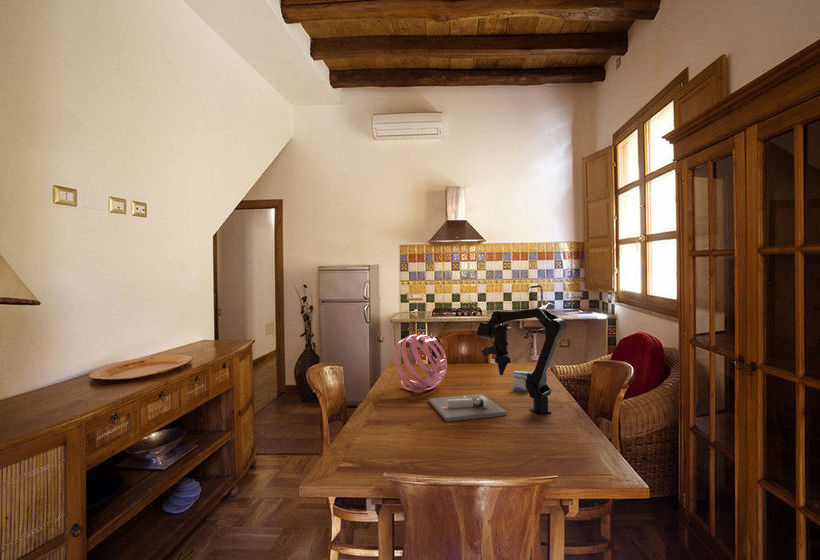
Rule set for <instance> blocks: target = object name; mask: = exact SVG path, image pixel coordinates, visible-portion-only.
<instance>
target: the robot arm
mask: <svg viewBox="0 0 820 560" xmlns="http://www.w3.org/2000/svg"><path fill="white" fill-rule="evenodd" d="M534 318H535V319H537V320H538V321H539V323H540V324H541V325H542V327H544V328H545V330H544V338H545V339H544V343H543V346H542V349H541V351H540V354H539V356H538V360H537V361H536V365H535V367H534V370H532V371H528V372H529V373H528V374H527V379H526V380H525V382H526V384H525V386H526V388H527V390H528V391H527V392H528V395H529V398H530V399H532V407H530V408H529V410H530V411H532V413H535V414H536V415H544V414H553V413H552V411H551V410H550V409H549V398H548V397H549V396H551V394H552V389H551V388H550V386H549V385H548V384H547V382H548V378H547V377H548V376H547V372H548V370H549V369H548V368H549V366H550V363H551V360H552V358H553V354H554V352H555V350H556V346H557V345H558V341H559V340H560V339H561V338H562V336H563V335H564V333H565V332H566V330H567V329H568V324H567V322H566V320H565V319H563V318H561V317H558V316H557V315H555V314H554V313H552V312H550V311H548V309H546V308H544V307H543V306H542V307H541V306H540V307H536V308H530V309H529V308H528V309H522V310H507V309H500V310H494V311H493V312H492V314H491V316H490V319H489V320H488V322H485V321H481V322H479V325H478V327H477V329H476V333H477V337H479V338H484V339H485V338H486V339H492V338H493V341H492V344H490V345H489V344H488V345H487V346H484V347H481V348H480V351H481V354H482V356H483V357H484V358H486V357H487V356H490V355H492V356H494V357H493V362H494V364H497V368H498V372H499V376H503V375H504V372H505V370H506V368H507V365H508V364H511V357H510V356H509V352H508V345H509V342H508V331H510V330H512V327H511V326H510V325H509V322H510V323H511V322H513V321H516V320H517V321H518V320H526V319H534ZM502 324H504V325H502Z"/></svg>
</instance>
